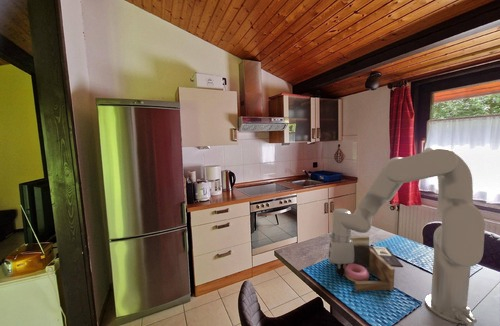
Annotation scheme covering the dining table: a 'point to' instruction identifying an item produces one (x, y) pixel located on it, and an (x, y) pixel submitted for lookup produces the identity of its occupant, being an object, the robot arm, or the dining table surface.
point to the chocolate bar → (387, 256)
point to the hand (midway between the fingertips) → (340, 275)
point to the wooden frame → (375, 269)
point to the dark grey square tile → (362, 255)
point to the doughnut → (356, 272)
